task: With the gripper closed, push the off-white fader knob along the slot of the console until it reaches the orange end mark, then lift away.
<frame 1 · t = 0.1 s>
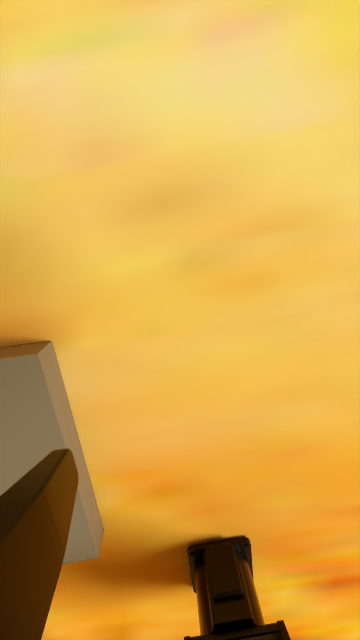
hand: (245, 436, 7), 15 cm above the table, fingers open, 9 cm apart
console: (0, 458, 24), on the table
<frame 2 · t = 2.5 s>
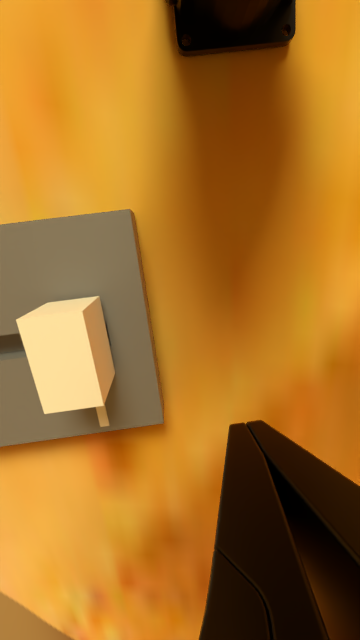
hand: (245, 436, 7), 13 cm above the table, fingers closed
console: (8, 336, 19), on the table
fader: (78, 345, 16), point 4 cm above the table, slide at 0.0 cm
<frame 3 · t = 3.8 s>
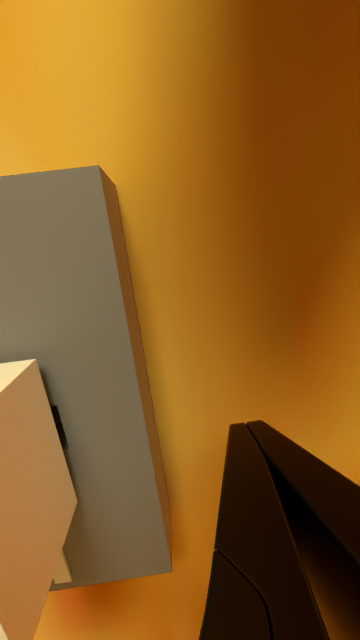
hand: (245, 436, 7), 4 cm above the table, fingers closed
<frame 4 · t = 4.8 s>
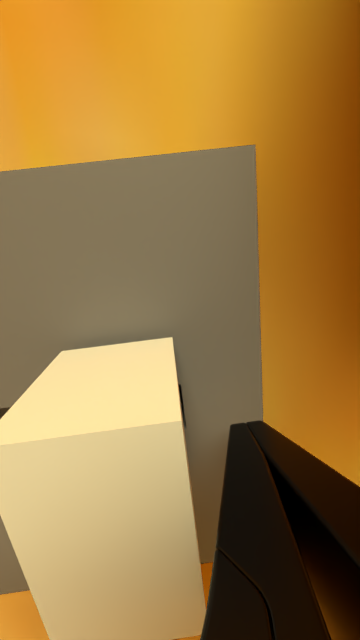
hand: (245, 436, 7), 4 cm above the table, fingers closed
fader: (128, 446, 7), point 4 cm above the table, slide at 0.1 cm, touching gripper
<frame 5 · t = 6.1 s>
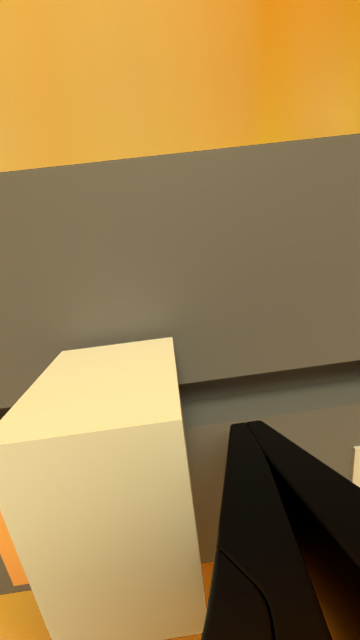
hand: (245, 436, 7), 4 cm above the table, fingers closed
console: (177, 370, 11), on the table
fader: (128, 446, 7), point 4 cm above the table, slide at 7.5 cm, touching gripper
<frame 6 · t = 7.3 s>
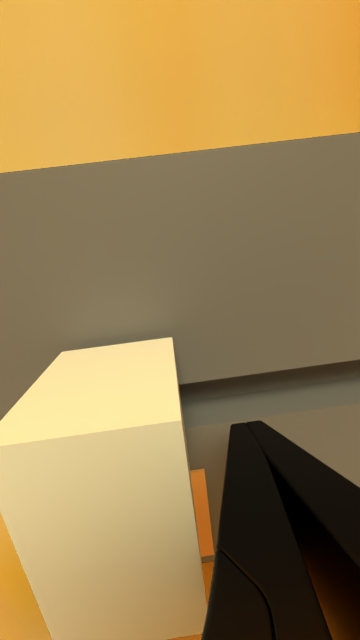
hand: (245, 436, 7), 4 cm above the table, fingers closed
console: (274, 357, 11), on the table
fader: (128, 446, 7), point 4 cm above the table, slide at 11.5 cm, touching gripper
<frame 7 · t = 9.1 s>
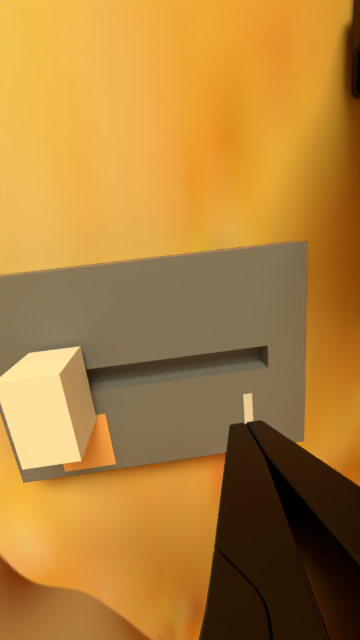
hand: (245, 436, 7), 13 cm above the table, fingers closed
console: (154, 356, 20), on the table
fader: (58, 395, 16), point 4 cm above the table, slide at 11.5 cm
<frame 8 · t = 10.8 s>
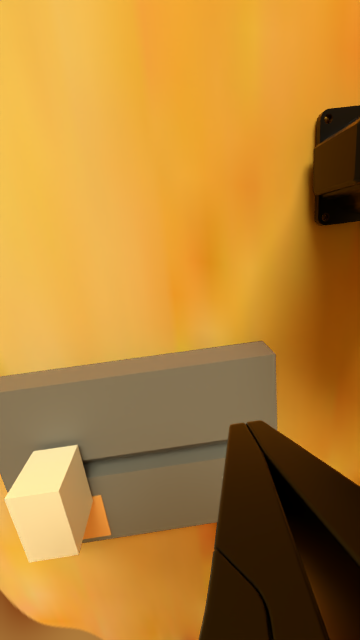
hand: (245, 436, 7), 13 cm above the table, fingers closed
console: (144, 437, 22), on the table
fader: (59, 489, 18), point 4 cm above the table, slide at 11.5 cm
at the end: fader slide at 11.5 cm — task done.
